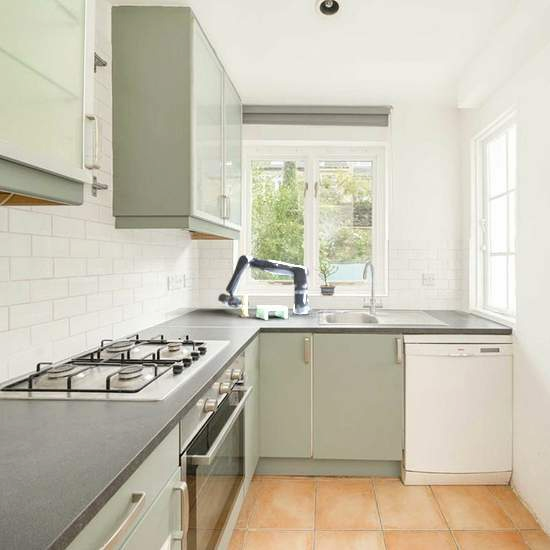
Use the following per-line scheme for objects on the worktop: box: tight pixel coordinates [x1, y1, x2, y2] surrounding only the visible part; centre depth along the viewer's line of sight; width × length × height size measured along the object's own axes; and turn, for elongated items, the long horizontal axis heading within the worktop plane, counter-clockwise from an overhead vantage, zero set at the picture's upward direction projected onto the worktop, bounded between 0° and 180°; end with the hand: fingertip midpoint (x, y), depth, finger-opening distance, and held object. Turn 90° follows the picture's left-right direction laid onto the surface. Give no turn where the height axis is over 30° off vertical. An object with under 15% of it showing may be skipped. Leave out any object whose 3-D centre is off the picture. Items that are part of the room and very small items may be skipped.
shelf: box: [255, 304, 289, 320], centre depth 299 cm, size 16×14×7 cm
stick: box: [240, 294, 249, 318], centre depth 304 cm, size 5×5×14 cm
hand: (242, 304), depth 308 cm, fingers open, 8 cm apart
